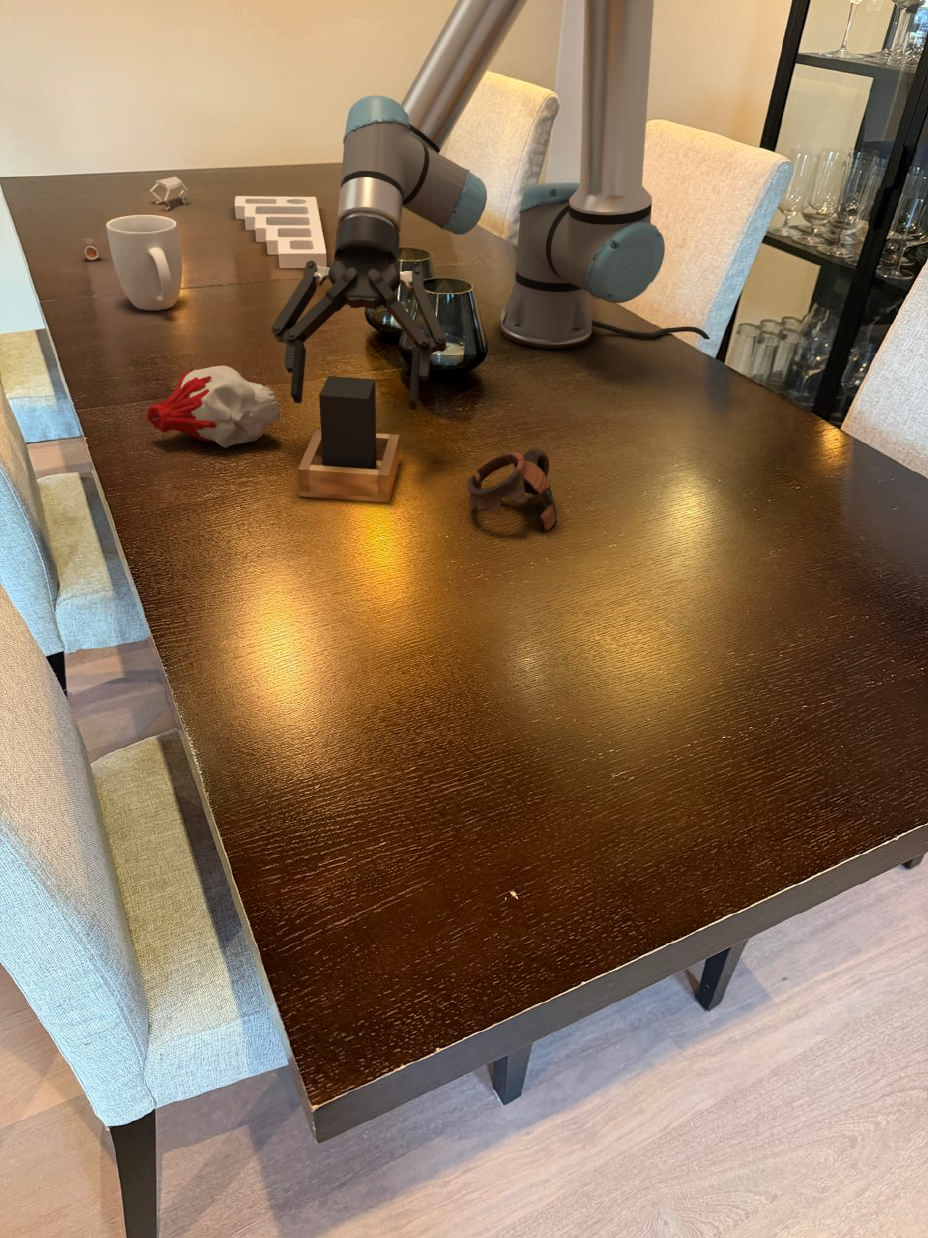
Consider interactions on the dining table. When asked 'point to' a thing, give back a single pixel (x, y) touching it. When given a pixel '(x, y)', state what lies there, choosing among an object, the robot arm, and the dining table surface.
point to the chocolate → (91, 251)
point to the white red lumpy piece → (216, 407)
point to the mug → (147, 259)
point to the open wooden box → (350, 473)
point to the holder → (285, 227)
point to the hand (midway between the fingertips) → (354, 402)
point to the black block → (348, 422)
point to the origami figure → (169, 184)
